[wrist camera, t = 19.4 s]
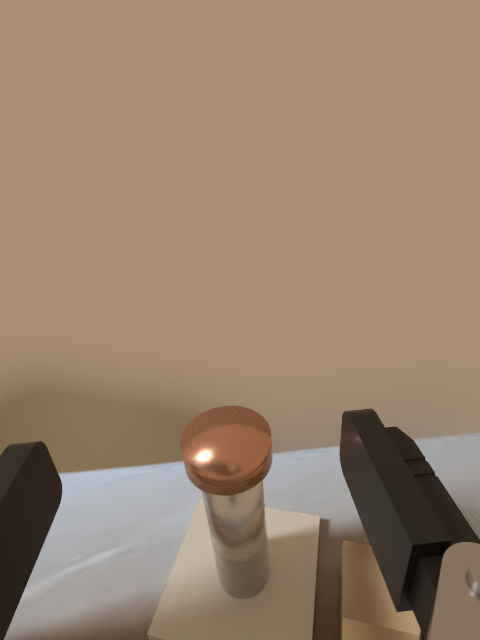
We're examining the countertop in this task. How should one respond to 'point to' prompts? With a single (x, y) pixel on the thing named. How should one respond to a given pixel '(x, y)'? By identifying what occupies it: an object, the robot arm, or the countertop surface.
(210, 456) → the copper-capped metal cylinder
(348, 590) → the bore block
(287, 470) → the countertop surface
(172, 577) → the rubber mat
